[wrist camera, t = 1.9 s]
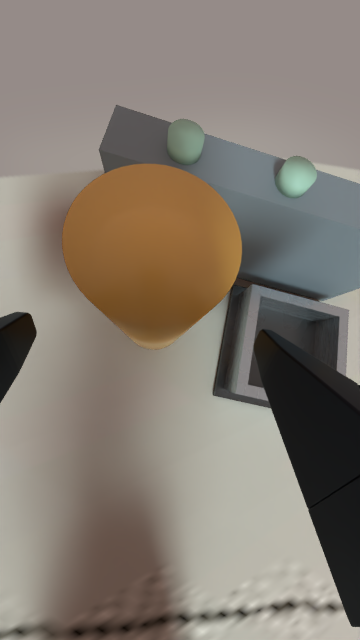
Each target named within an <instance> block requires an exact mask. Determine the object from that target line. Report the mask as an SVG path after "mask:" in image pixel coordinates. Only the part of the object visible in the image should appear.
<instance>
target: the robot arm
mask: <svg viewBox="0 0 360 640" xmlns="http://www.w3.org/2000/svg"><path fill="white" fill-rule="evenodd" d="M36 333H37V332H36V328H35V325H34V322H33V319H32V316H31V315H30V314H29V313H24V312H15V313H12V314H9V315H7V316H4V317H1V318H0V403H1V401H2V400H3V398H4V396H5V395H6V393H7V391H8V390H9V388H10V387H11V385H12V383H13V382H14V380H15V378H16V377H17V375H18V373H19V371H20V369H21V368H22V366H23V363H24V361H25V359H26V357H27V355H28V353H29V351H30V348H31V346H32V344H33V342H34V340H35V338H36ZM253 349H254V353H255V358H256V362H257V366H258V370H259V374H260V378H261V381H262V384H263V387H264V390H265V393H266V395H267V398H268V401H269V404H270V406H271V409H272V412H273V415H274V417H275V420H276V423H277V425H278V428H279V431H280V434H281V436H282V439H283V442H284V445H285V447H286V450H287V453H288V456H289V458H290V461H291V464H292V467H293V469H294V472H295V475H296V478H297V480H298V483H299V486H300V488H301V491H302V494H303V497H304V499H305V502H306V505H307V508H308V509H309V510H308V511H309V514H310V516H311V519H312V522H313V525H314V527H315V530H316V533H317V535H318V538H319V541H320V544H321V546H322V549H323V552H324V555H325V557H326V560H327V563H328V566H329V568H330V571H331V574H332V577H333V579H334V582H335V585H336V587H337V590H338V593H339V596H340V598H341V601H342V604H343V607H344V609H345V612H346V615H347V617H348V619H349V622H350V624H351V626H352V627H360V385H358V384H357V383H356V382H354V381H352V380H351V379H349V378H348V377H346V376H344V375H343V374H341V373H340V372H338V371H336V370H335V369H333V368H332V367H330V366H328V365H327V364H325V363H324V362H322V361H320V360H319V359H317V358H315V357H314V356H312V355H311V354H309V353H307V352H306V351H304V350H303V349H301V348H299V347H298V346H296V345H295V344H293V343H291V342H290V341H288V340H287V339H285V338H283V337H282V336H280V335H279V334H277V333H275V332H274V331H272V330H269V329H261V330H260V331H259V333H258V335H257V337H256V340H255V342H254V345H253Z"/></svg>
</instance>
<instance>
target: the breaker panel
mask: <svg viewBox="0 0 360 640" xmlns="http://www.w3.org/2000/svg"><path fill="white" fill-rule="evenodd" d="M99 152H100V155H101V159H102V163H103V167H104V171H105V173H107V172H109V171H111V170H114V169H117V168H120V167H123V166H128V165H133V164H160V165H167V166H171V167H175V168H178V169H181V170H184V171H186V172H188V173H190V174H192V175H195V176H197V177H198V178H200V179H201V180H203V181H204V182H206V183H207V184H208V185H210V186H211V187H212V188H213V189H214V190H215V191H216V192H217V193H218V194H219V195H220V196H221V197H222V198H223V199H224V201H225V202H226V203H227V204H228V206H229V208H230V209H231V211H232V213H233V215H234V217H235V219H236V221H237V224H238V227H239V230H240V235H241V241H242V257H241V264H240V268H239V272H238V275H237V277H236V278H240V279H244V280H248V281H251V282H255V283H259V284H262V285H266V286H270V287H273V288H277V289H281V290H285V291H288V292H292V293H296V294H299V295H303V296H307V297H310V298H314V299H318V300H322V301H324V300H327V299H330V298H333V297H335V296H338V295H341V294H344V293H347V292H350V291H353V290H356V289H359V288H360V184H358V183H355V182H352V181H349V180H346V179H343V178H340V177H337V176H334V175H331V174H327V173H324V172H321V171H318V170H316V169H315V167H314V165H313V164H312V163H311V162H310V161H309V160H307V159H306V158H303V157H300V156H293V157H290V158H288V159H287V160H284V159H281V158H278V157H275V156H272V155H269V154H266V153H263V152H260V151H257V150H254V149H250V148H247V147H244V146H241V145H238V144H235V143H232V142H229V141H226V140H223V139H220V138H217V137H214V136H211V135H207V134H204V132H203V130H202V128H201V127H200V126H199V125H198V124H197V123H195V122H193V121H191V120H187V119H180V120H176V121H174V122H173V123H170V122H167V121H164V120H161V119H158V118H155V117H152V116H149V115H146V114H143V113H140V112H137V111H134V110H130V109H127V108H124V107H121V106H118V105H116V107H115V109H114V112H113V115H112V117H111V120H110V122H109V125H108V128H107V130H106V133H105V135H104V138H103V140H102V143H101V145H100V148H99Z"/></svg>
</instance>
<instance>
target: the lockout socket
mask: <svg viewBox="0 0 360 640" xmlns="http://www.w3.org/2000/svg"><path fill="white" fill-rule="evenodd" d="M348 317H349V310H347V309H344V308H340V307H336V306H332V305H329V304H325V303H321V302H318V301H314V300H310V299H306V298H303V297H299V296H295V295H292V294H288V293H284V292H280V291H277V290H273V289H269V288H265V287H262V286H258V285H254V284H252V285H251V286H249V287H248V288H244V287H240V286H236V285H233V286H232V291H231V297H230V303H229V308H228V314H227V320H226V325H225V331H224V336H223V342H222V348H221V353H220V359H219V365H218V370H217V376H216V381H215V387H214V393H213V395H214V396H218V397H223V398H227V399H232V400H236V401H241V402H245V403H250V404H254V405H259V406H264V407H268V408H271V406H270V404H269V401H268V398H267V395H266V393H265V390H264V387H263V384H262V381H261V378H260V374H259V370H258V366H257V362H256V358H255V353H254V349H253V345H254V342H255V340H256V337H257V335H258V333H259V331H260V330H261V329H269V330H272V331H274V332H275V333H277V334H279V335H280V336H282V337H283V338H285V339H287V340H288V341H290V342H291V343H293V344H295V345H296V346H298V347H299V348H301V349H303V350H304V351H306V352H307V353H309V354H311V355H312V356H314V357H315V358H317V359H319V360H320V361H322V362H324V363H325V364H327V365H328V366H330V367H332V368H333V369H335V370H336V371H338V372H340V373H341V374H343V375H344V376H346V361H347V339H348Z"/></svg>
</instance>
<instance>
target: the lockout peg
mask: <svg viewBox="0 0 360 640" xmlns="http://www.w3.org/2000/svg"><path fill="white" fill-rule="evenodd" d="M62 249H63V255H64V260H65V263H66V266H67V269H68V271H69V273H70V275H71V277H72V279H73V281H74V282H75V284H76V285H77V287H78V288H79V290H80V291H81V292H82V293H83V294H84V295H85V296H86V298H87V299H88V300H89V301H90V302H92V303H93V304H94V305H95V306H96V307H97V308H98V309H99V310H100V311H101V312H102V313H103V314H105V315H106V316H107V317H108V318H109V319H110V320H111V321H112V322H113V323H114V324H115V325H116V326H117V327H119V328H120V329H121V330H122V331H123V332H124V333H125V334H126V335H127V336H128V337H129V338H130V339H132V340H133V341H134V342H135V343H136V344H137V345H139V346H141V347H143V348H146V349H151V350H157V349H162V348H165V347H167V346H169V345H171V344H172V343H173V342H174V341H176V340H177V339H178V338H179V337H180V336H181V335H182V334H184V333H185V332H186V331H187V330H188V329H189V328H191V327H192V326H193V325H194V324H195V323H196V322H198V321H199V320H200V319H201V318H202V317H203V316H204V315H206V314H207V313H208V312H209V311H210V310H211V309H213V308H214V307H215V306H216V305H217V304H218V303H219V302H220V301H221V300H222V299H223V298H224V297H225V296H226V294H227V293H228V292H229V290H230V289H231V287H232V285H233V284H234V282H235V279H236V277H237V275H238V272H239V268H240V264H241V257H242V241H241V235H240V230H239V227H238V224H237V221H236V219H235V217H234V215H233V213H232V211H231V209H230V208H229V206H228V204H227V203H226V202H225V201H224V199H223V198H222V197H221V196H220V195H219V194H218V193H217V192H216V191H215V190H214V189H213V188H212V187H211V186H210V185H208V184H207V183H206V182H204V181H203V180H201V179H200V178H198V177H197V176H195V175H192V174H190V173H188V172H186V171H184V170H181V169H178V168H175V167H171V166H167V165H160V164H133V165H128V166H123V167H120V168H117V169H114V170H111V171H109V172H107V173H105V174H103V175H101V176H100V177H98V178H96V179H95V180H93V181H92V182H91V183H90V184H88V185H87V186H86V187H85V188H84V189H83V190H82V191H81V192H80V193H79V194H78V196H77V197H76V199H75V200H74V202H73V203H72V205H71V207H70V209H69V211H68V213H67V216H66V219H65V222H64V226H63V233H62Z"/></svg>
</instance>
